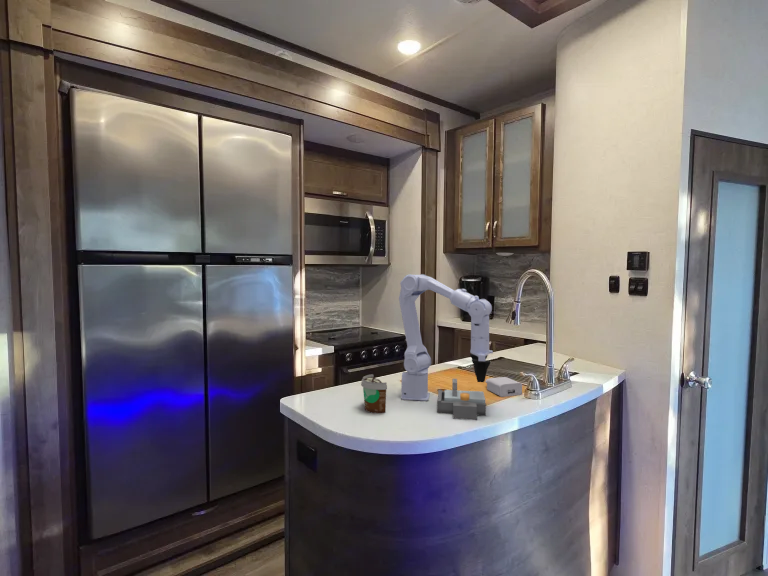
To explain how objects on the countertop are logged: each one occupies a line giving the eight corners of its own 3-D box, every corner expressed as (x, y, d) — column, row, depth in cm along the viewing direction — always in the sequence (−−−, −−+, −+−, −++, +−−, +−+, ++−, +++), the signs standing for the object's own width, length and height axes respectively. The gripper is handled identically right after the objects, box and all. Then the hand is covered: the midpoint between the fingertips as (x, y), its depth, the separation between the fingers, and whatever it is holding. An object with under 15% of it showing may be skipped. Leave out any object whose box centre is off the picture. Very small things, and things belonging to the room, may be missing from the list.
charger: (498, 384, 157) (522, 395, 143) (478, 386, 155) (500, 397, 140) (498, 372, 157) (522, 382, 143) (478, 374, 154) (500, 384, 140)
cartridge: (444, 408, 126) (444, 383, 125) (444, 399, 134) (444, 376, 134) (485, 410, 123) (485, 385, 123) (483, 401, 132) (483, 378, 132)
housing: (436, 417, 121) (436, 404, 120) (438, 400, 136) (438, 389, 136) (487, 420, 118) (487, 407, 118) (482, 403, 134) (482, 391, 134)
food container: (355, 404, 133) (355, 375, 132) (372, 402, 135) (372, 373, 135) (369, 417, 121) (368, 385, 121) (387, 414, 124) (387, 382, 123)
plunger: (460, 400, 120) (460, 395, 120) (460, 397, 122) (460, 392, 122) (469, 400, 119) (469, 395, 119) (469, 398, 122) (469, 392, 122)
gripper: (495, 341, 119) (495, 385, 119) (490, 333, 133) (489, 373, 133) (471, 340, 120) (471, 384, 120) (469, 333, 134) (468, 372, 134)
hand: (479, 378), depth 127 cm, fingers open, 7 cm apart
